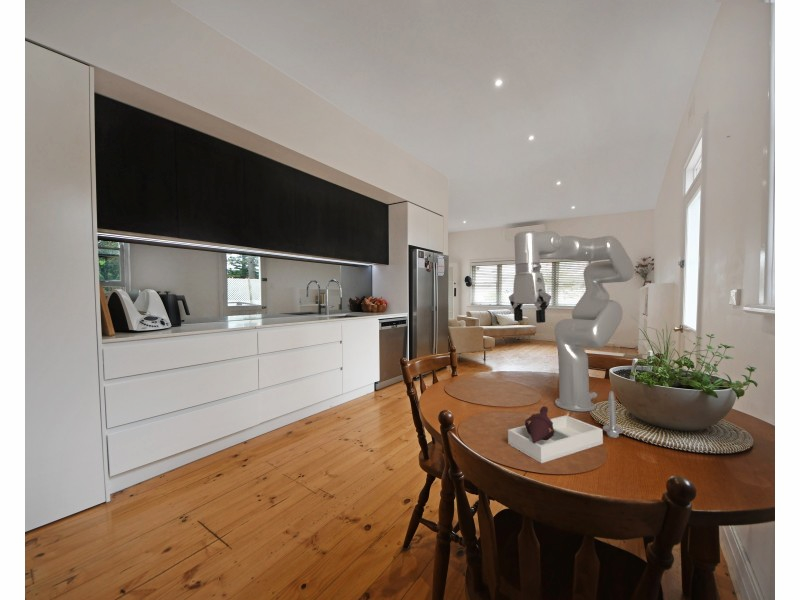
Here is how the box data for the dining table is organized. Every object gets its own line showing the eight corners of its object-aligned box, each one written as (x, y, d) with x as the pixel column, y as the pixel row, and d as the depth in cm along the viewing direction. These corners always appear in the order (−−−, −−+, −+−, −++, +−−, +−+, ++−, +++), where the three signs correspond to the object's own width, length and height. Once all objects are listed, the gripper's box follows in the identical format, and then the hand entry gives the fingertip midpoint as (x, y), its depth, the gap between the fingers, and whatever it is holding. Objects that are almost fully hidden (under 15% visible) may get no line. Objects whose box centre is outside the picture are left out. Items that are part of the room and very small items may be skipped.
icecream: (552, 436, 77) (561, 408, 90) (521, 424, 81) (533, 398, 93) (547, 460, 79) (556, 429, 91) (516, 447, 83) (528, 419, 95)
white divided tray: (566, 428, 99) (565, 415, 99) (602, 443, 88) (602, 429, 88) (508, 444, 90) (507, 429, 90) (541, 463, 79) (540, 447, 79)
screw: (615, 432, 95) (627, 439, 90) (599, 432, 95) (610, 440, 90) (613, 388, 95) (625, 392, 90) (597, 388, 95) (608, 393, 90)
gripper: (557, 267, 100) (559, 322, 100) (517, 271, 116) (519, 319, 116) (539, 267, 97) (541, 324, 97) (500, 272, 113) (502, 320, 113)
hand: (529, 321), depth 106 cm, fingers open, 9 cm apart
